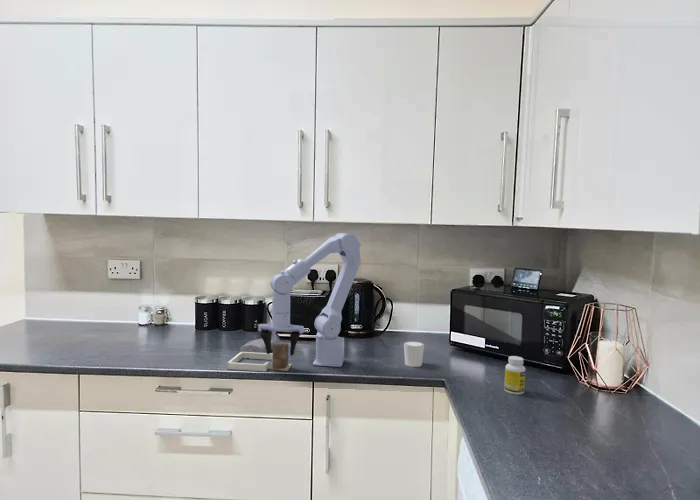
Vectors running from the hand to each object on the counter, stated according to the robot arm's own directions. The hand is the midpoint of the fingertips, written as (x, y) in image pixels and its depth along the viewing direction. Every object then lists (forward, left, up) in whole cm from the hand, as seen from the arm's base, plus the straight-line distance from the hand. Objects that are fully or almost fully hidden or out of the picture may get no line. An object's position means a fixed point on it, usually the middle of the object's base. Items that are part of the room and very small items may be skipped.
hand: (280, 353), depth 145 cm
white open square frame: (+10, -2, -4) cm, 11 cm away
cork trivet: (0, 0, -4) cm, 4 cm away
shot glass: (-43, -12, -5) cm, 45 cm away
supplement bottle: (-71, +8, -5) cm, 71 cm away
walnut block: (0, 0, -4) cm, 4 cm away
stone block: (+13, -16, -5) cm, 21 cm away
